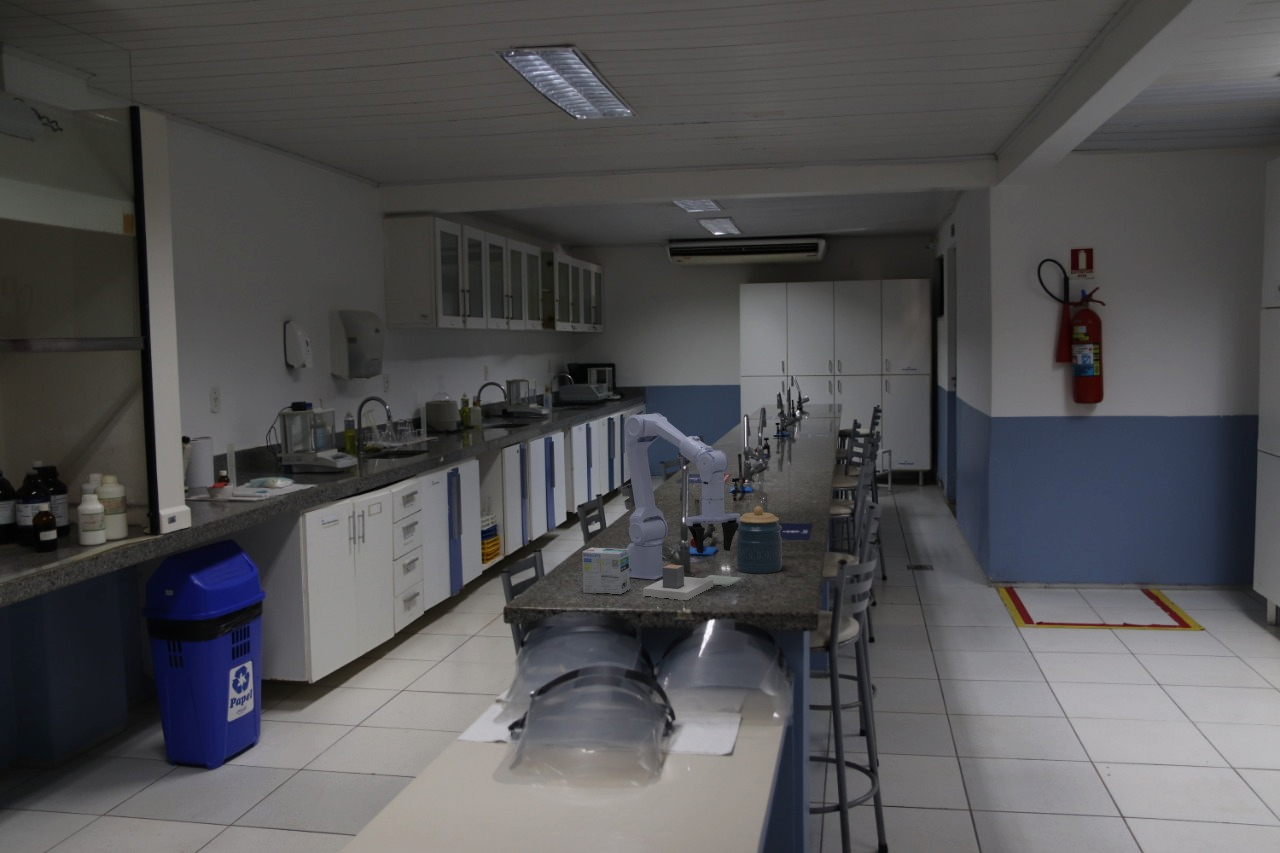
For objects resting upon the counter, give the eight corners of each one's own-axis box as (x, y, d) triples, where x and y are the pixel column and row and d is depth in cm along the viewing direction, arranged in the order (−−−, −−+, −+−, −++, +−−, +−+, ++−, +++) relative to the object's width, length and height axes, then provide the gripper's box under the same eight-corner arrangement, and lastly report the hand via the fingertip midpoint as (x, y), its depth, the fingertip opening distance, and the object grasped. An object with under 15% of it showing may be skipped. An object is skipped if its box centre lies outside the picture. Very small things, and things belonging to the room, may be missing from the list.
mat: (696, 583, 264) (696, 581, 264) (710, 576, 272) (710, 574, 272) (728, 586, 260) (728, 584, 260) (741, 579, 268) (741, 577, 268)
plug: (662, 595, 252) (662, 567, 251) (669, 591, 255) (669, 564, 255) (677, 596, 250) (676, 568, 250) (684, 593, 254) (683, 565, 253)
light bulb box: (630, 589, 258) (630, 548, 258) (621, 595, 252) (620, 553, 251) (592, 587, 262) (591, 546, 261) (582, 593, 256) (581, 551, 255)
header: (643, 596, 251) (642, 588, 251) (671, 582, 265) (671, 575, 265) (686, 600, 246) (686, 592, 245) (713, 587, 260) (713, 579, 260)
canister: (731, 573, 276) (730, 509, 275) (740, 563, 288) (739, 502, 287) (778, 575, 272) (777, 510, 271) (785, 565, 285) (785, 503, 283)
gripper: (694, 502, 249) (694, 556, 250) (745, 498, 255) (746, 551, 256) (682, 499, 256) (682, 552, 257) (732, 495, 261) (733, 547, 262)
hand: (713, 551), depth 257 cm, fingers open, 7 cm apart
